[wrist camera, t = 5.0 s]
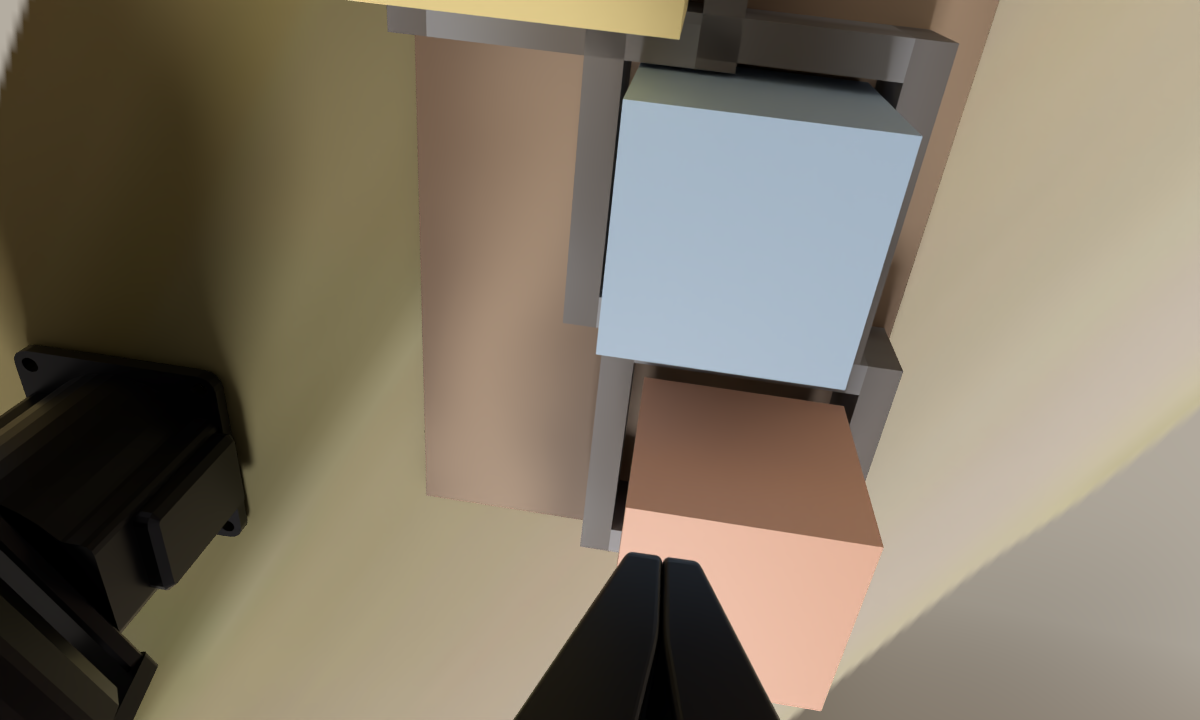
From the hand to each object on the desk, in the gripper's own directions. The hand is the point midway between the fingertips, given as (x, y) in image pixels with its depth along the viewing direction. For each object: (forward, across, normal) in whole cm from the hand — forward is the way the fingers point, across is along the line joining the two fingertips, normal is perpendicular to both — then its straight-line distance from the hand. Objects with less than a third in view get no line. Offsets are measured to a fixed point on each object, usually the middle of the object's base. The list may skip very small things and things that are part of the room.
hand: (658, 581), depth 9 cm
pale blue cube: (+11, -1, -2) cm, 11 cm away
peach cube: (+9, -2, +5) cm, 11 cm away
